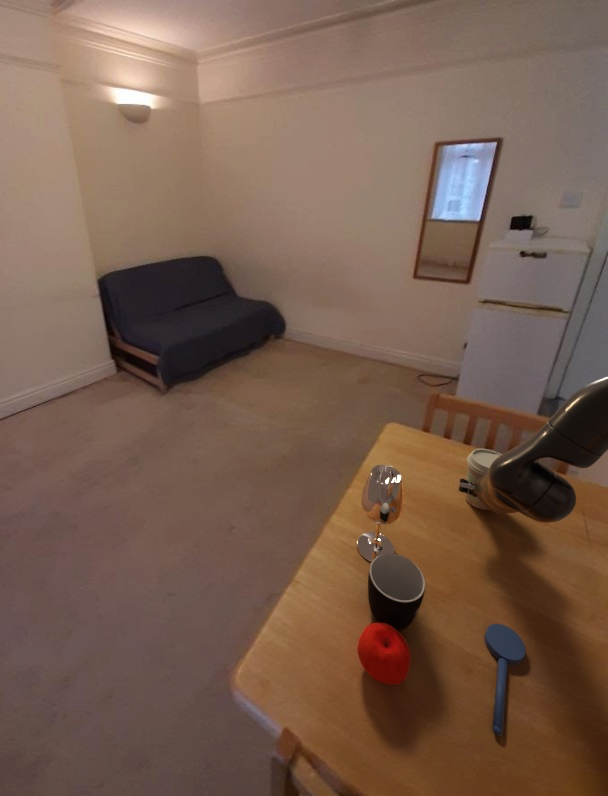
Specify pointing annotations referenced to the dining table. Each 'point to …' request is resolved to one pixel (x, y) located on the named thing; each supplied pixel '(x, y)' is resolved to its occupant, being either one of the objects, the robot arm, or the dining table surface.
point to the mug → (395, 590)
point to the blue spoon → (503, 664)
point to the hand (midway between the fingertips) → (484, 495)
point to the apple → (384, 653)
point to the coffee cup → (479, 470)
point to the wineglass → (380, 509)
